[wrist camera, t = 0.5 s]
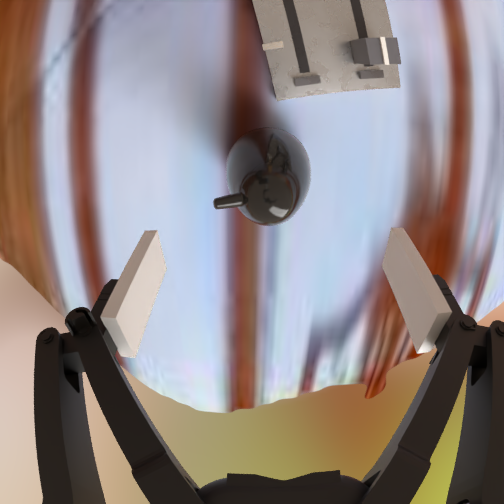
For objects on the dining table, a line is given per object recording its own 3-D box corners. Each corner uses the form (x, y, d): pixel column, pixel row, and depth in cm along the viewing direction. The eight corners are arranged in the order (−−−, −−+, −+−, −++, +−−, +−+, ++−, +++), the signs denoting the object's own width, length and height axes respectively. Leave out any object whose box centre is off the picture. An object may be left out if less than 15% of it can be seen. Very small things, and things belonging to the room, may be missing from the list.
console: (232, -61, 22) (229, -69, 20) (358, -70, 20) (364, -78, 17) (274, 99, 36) (275, 102, 33) (395, 85, 33) (405, 88, 31)
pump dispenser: (226, 121, 38) (207, 156, 25) (307, 122, 37) (330, 158, 25) (229, 192, 43) (215, 255, 31) (303, 193, 43) (319, 256, 31)
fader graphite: (350, 40, 29) (366, 37, 23) (377, 39, 28) (398, 37, 23) (354, 63, 30) (371, 65, 25) (381, 62, 30) (402, 64, 25)
